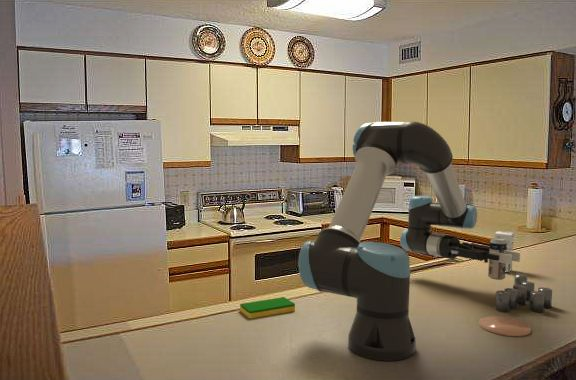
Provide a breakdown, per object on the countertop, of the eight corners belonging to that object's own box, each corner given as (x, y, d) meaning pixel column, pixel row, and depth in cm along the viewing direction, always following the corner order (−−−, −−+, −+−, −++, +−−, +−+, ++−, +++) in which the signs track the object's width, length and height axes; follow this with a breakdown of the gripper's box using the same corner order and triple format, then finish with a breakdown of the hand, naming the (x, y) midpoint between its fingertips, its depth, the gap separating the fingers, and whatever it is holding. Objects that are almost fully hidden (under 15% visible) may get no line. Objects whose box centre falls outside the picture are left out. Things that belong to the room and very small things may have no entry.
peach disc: (504, 339, 116) (504, 336, 116) (469, 321, 127) (469, 319, 127) (542, 332, 120) (542, 330, 120) (505, 316, 131) (505, 314, 131)
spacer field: (477, 305, 140) (478, 288, 140) (517, 288, 157) (517, 273, 157) (530, 319, 130) (531, 301, 129) (566, 299, 146) (567, 283, 146)
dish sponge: (239, 312, 135) (239, 303, 135) (284, 304, 142) (284, 296, 141) (249, 320, 129) (249, 311, 129) (295, 312, 135) (295, 303, 135)
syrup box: (512, 270, 180) (514, 231, 179) (509, 273, 175) (511, 234, 174) (495, 268, 183) (497, 230, 182) (493, 271, 178) (494, 232, 177)
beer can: (503, 281, 144) (505, 241, 143) (486, 278, 147) (488, 239, 146) (506, 277, 148) (508, 238, 147) (489, 275, 151) (491, 237, 150)
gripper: (457, 253, 167) (527, 266, 149) (428, 261, 155) (500, 275, 137) (458, 232, 166) (529, 242, 148) (429, 237, 154) (502, 249, 137)
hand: (515, 258), depth 143 cm, fingers closed on beer can, 5 cm apart
